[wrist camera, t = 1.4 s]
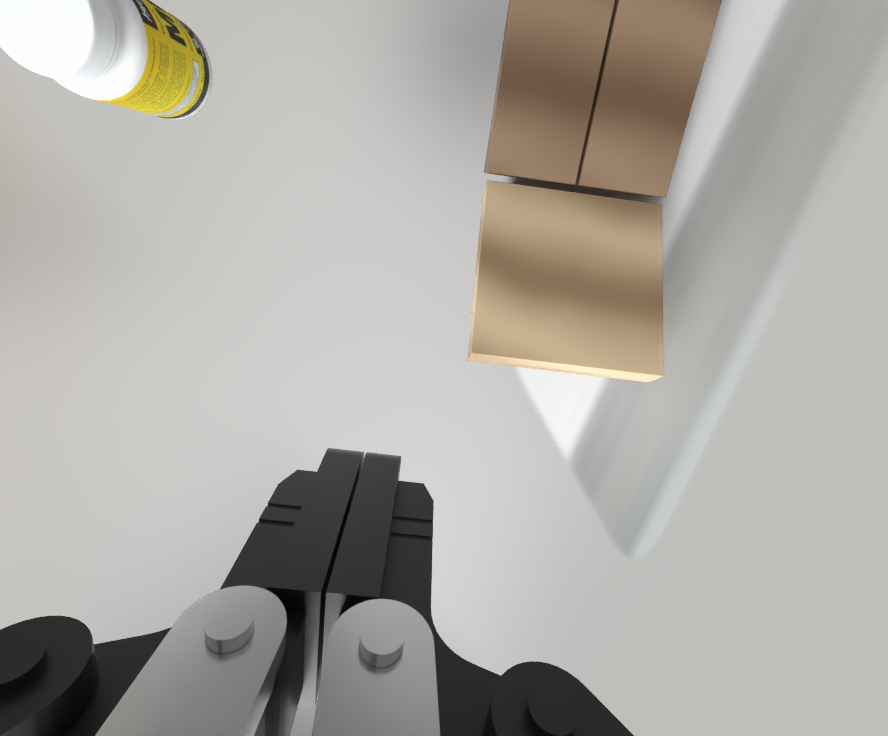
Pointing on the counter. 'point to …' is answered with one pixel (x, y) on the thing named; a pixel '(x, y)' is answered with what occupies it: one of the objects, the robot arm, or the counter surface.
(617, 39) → the brown flat square block
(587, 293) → the oak plank
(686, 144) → the counter surface
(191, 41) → the supplement bottle
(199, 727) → the robot arm
